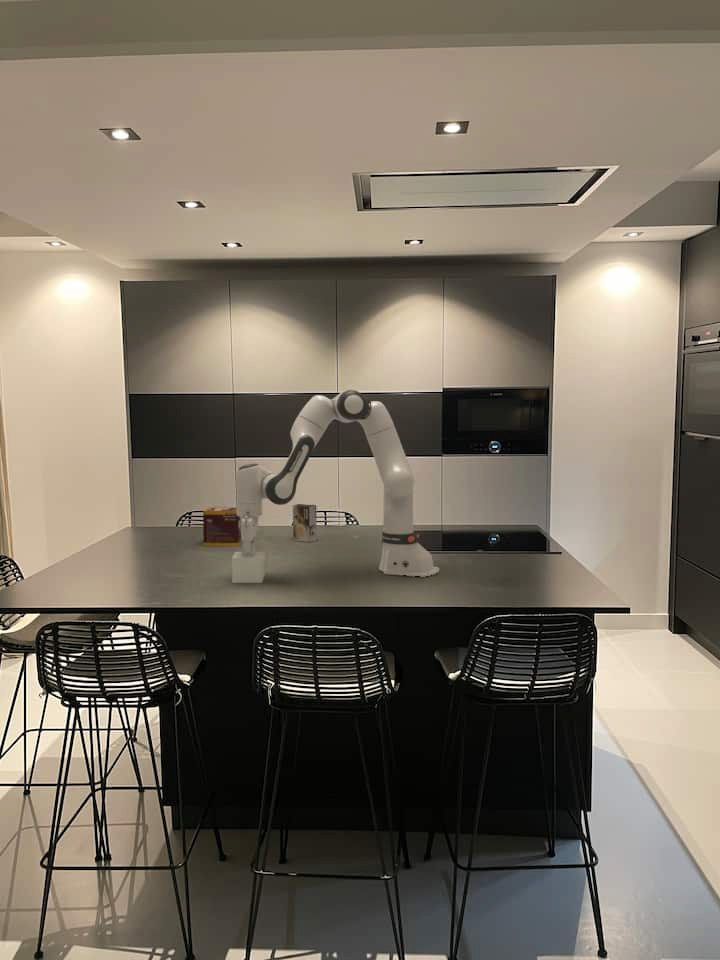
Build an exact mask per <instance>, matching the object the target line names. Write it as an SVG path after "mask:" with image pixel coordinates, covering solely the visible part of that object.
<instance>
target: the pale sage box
mask: <svg viewBox="0 0 720 960" xmlns="http://www.w3.org/2000/svg"><path fill="white" fill-rule="evenodd" d="M255 544H256V542H255V541H254V542H251V551H250V552H246V551H245V543H244V541H242V543H241V551H235V552H234V554H233V556H232V557H231V578H232V579H231V581H232V584H263V581H264V579H265V576H266V569H265V568H266V566H265V565H266V564H265V560H266V559H265V558H266V554H265V551H256V545H255Z"/></svg>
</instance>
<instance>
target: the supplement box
mask: <svg viewBox="0 0 720 960" xmlns="http://www.w3.org/2000/svg"><path fill="white" fill-rule="evenodd" d="M202 514H203V515H202V518H203V519H202V522H203V523H202V524H203V525H202V529H203V531H202V532H203V533H202V534H203V543H202V544H203V547H239V546H241V545H242V544H243V541H242V540H241V520H240V516H237V508H236V507H228V506H227V507H226V506H225V507H222V506H221V507H219V506H218V507H215V506H214V507H211V506H210V507H207V508H206V509H204V510H203V513H202Z"/></svg>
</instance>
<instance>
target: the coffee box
mask: <svg viewBox="0 0 720 960" xmlns="http://www.w3.org/2000/svg"><path fill="white" fill-rule="evenodd" d="M292 533H293V534H292V535H293V538H292V539H293V540H292V541H293V542H305V543H312V542H315V541H317V537H318V536H317V505H316V504H307V503H305V504H304V503H298V504H294V505H292Z"/></svg>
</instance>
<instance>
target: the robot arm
mask: <svg viewBox="0 0 720 960" xmlns="http://www.w3.org/2000/svg"><path fill="white" fill-rule="evenodd" d="M355 421H356V422H358V423H359V424H360V425H361V427H362V429H363V431H364V434H365V437H366V439H367V442H368V445H369V447H370V450H371V453H372V455H373V459H374V461H375V465H376V467H377V470H378V473H379V476H380V479H381V481H382V484H383V521H382V523H383V525H382V526H383V527H382V528H383V531H382V532H381V533H382V534H381V544H382V551H381V556H380V557H381V558H380V563H379V566H378V570H379V571H381V572H382V573H383V574H384V575H392V576H403V575H406V577H415V576H420V577H419V578H426V576H428V577H431V575H432V576H434V575H436V573H437V574H438V573H439V572H440V568H439V567H438V566H434V561H433V556H432V554H431V553H430V552H429V551H428V550H427V549H425V547H423V546H422V545H421V544H420V543H419V542H418V539H419V538H420V537H419V536H420V534H416V533H415V532H414V485H415V478H414V475H413V473H412V469H411V466H410V464H409V461H408V459H407V456H406V453H405V450H404V448H403V445H402V443H401V440H400V436H399V435H398V434H399V433H398V432H397V430H396V429H397V428H396V427H395V424H394V421H393V419H392V417H391V414H390V412H389V411H388V409H387V407H386V406H385V404H383V403H382V402H381V401H378V400H377V401H376V400H374V401H370V400H369V399H368V398H366V397H365V396H364V395H363V394H362V393H361V392H360V391H358V390H354V389H348V390H346V391H345V390H344V391H343V392H340V393H339V394H337V395H336V396H334V397H333V398H332V399H331V398H328V397H326V396H324V395H320V394H319V395H318V394H316V395H314V396H312V397H311V398H310V400H309V401H307V402H306V404H305V405H304V406H303V407H302V409H301V410H300V412H299V414H298V415H297V417H296V418H295V421H294V422H293V424H292V426H291V429H290V431H289V432H290V433H289V435H290V438H291V440H292V441H291V442H292V449H291V452H290V454H289V456H288V457H287V460H286V461H285V464H284V466H283V467H282V469H281V470H280V472H279V473H278V472H274V471H271V470H268V469H267V468H264V467H263V466H261V465H260V464H259V463H248V464H244V465H242V466H240V467H239V468H238V469H237V473H236V479H235V480H236V482H235V487H236V493H237V497H236V504H235V505H236V507H235V508H237V516H240V520H241V540H242V542H244V543H245V551H246V552H250V551H251V542H255V535H256V533H257V532H258V528H259V519H260V516H262V515H263V499H267V500H269V501H270V502H271V503H273V504H275V505H278V506H282V505H286V504H288V503H290V502H291V501H292V500H293V498H294V497H295V495H296V491H297V484H298V481H299V478H300V476H301V474H302V473H303V471H304V469H305V466H306V464H308V463H307V462H308V460H309V459H310V457H311V455H312V452H314V450H315V447H316V445H317V444H318V443H319V441H320V440H321V438H322V437H323V435H324V433H325V432H326V430H327V428H328V426H329V425H330V424H331V423H332V422H337V423H339V424H340V423H341V424H348V423H353V422H355Z"/></svg>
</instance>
